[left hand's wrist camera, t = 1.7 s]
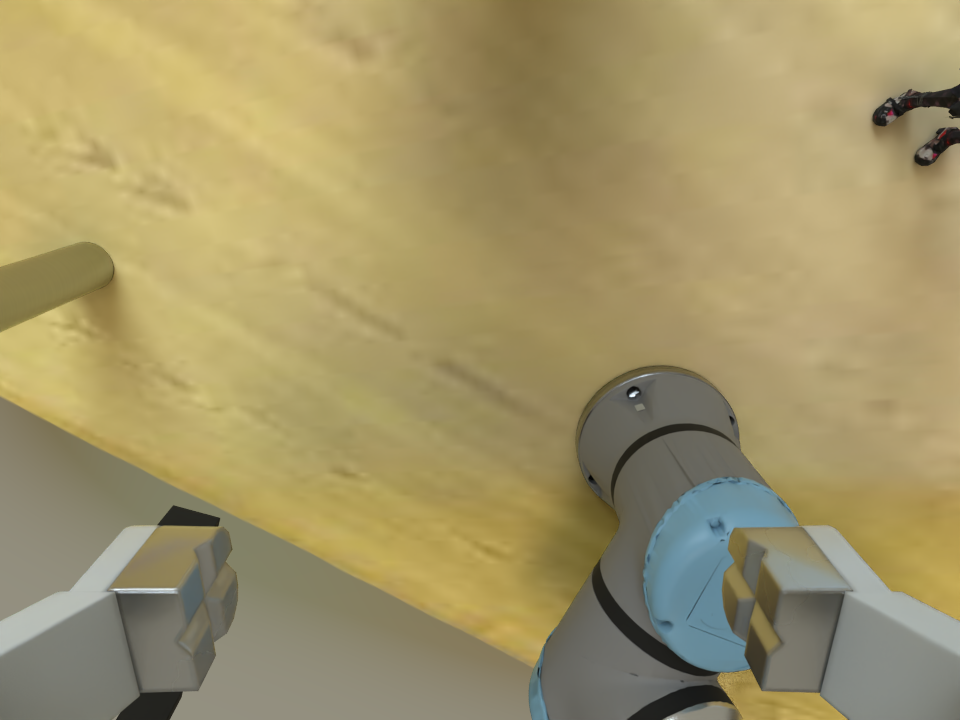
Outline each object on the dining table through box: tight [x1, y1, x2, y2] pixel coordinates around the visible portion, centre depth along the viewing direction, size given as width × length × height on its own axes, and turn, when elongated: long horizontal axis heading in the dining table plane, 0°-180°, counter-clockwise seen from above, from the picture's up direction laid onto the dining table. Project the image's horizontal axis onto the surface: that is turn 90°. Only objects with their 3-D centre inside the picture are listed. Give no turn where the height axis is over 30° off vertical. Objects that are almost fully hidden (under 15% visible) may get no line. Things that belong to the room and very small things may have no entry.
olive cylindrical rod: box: [0, 242, 114, 332], centre depth 48 cm, size 4×4×19 cm
